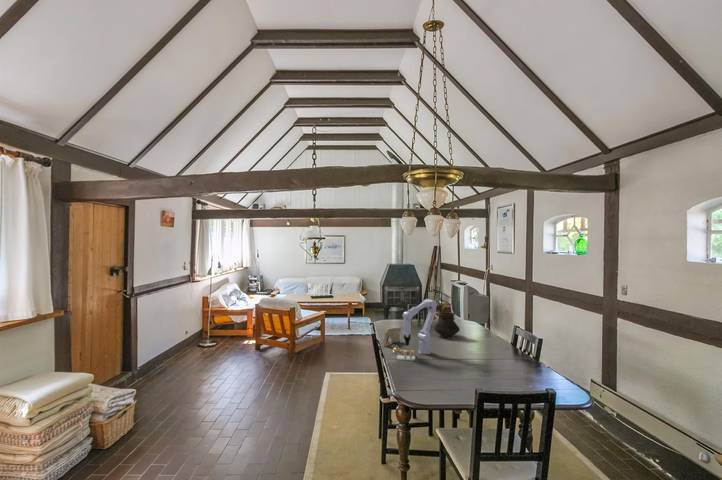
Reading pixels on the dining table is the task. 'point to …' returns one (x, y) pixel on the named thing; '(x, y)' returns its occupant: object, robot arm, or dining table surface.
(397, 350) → the ring nut
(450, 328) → the ceramic pot
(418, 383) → the dining table surface
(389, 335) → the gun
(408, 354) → the maple spanner
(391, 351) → the nut plinth
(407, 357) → the peg rack
